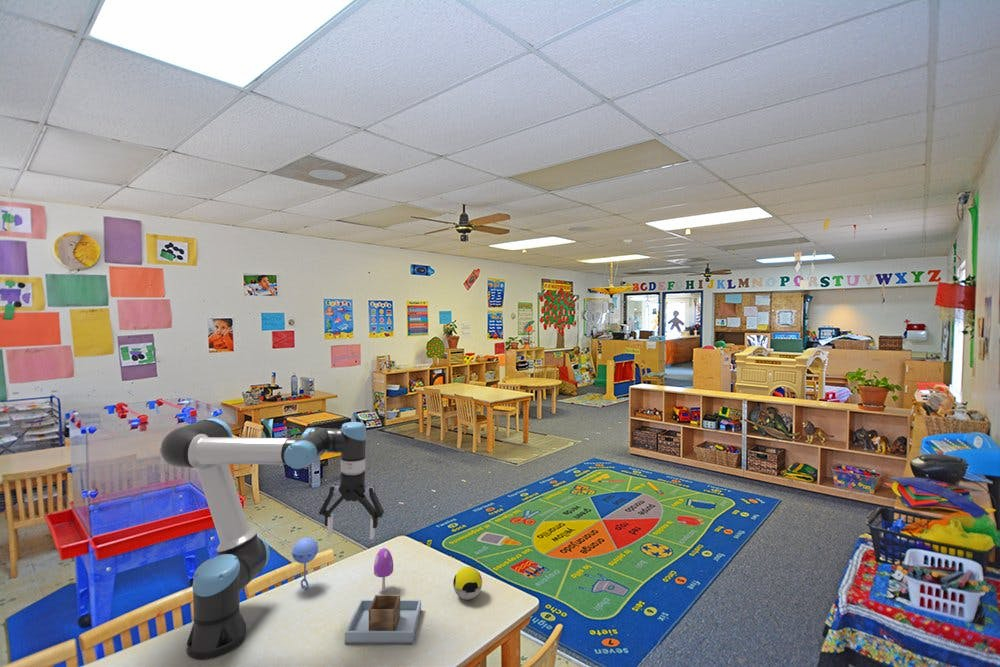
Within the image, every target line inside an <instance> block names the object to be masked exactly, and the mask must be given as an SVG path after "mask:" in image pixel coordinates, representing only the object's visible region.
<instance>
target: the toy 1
mask: <svg viewBox="0 0 1000 667" xmlns="http://www.w3.org/2000/svg"><path fill="white" fill-rule="evenodd" d="M393 559H394V558H393V556H392V553H391V552H390V549H388V548H386V547H382V548H381V549H380V550H379V551H378V552H377V554H376V556H375V559H374V563H373V573H374V576H375V577H377V578H382V584H381V585H382V586H381V591H382V592H385V591H386V577H390V576H391V575H393V572H394V560H393Z"/></svg>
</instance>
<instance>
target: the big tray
mask: <svg viewBox="0 0 1000 667" xmlns="http://www.w3.org/2000/svg"><path fill="white" fill-rule="evenodd" d="M372 602H373V599H359V601H358V604H357V606H356V608H355V610H354V611H353V614H352V616H351V619H350V621H349V622H348V625H347V627H346V629H345V631H344V645H413V644H414V640H415V636H416V632H417V627H418V625H419V620H420V616H421V611H422V599H400V619H399V622H398V625H397V628H396V631H369V609H370V606H371V604H372Z"/></svg>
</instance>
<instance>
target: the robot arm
mask: <svg viewBox="0 0 1000 667" xmlns="http://www.w3.org/2000/svg"><path fill="white" fill-rule="evenodd" d="M232 431H233V430H232V429H231V427H230V426H229V425H228V424H227V423H226V422H225V421H223V420H221V419H219V418H207V419H201V420H198V421H195V422H193V423H189V424H187V425H184V426H181V427H178V428H175V429H173V430H171V431H170V432H169V433H168V434H166V435H165V437H164V438H163V439H162V441H161V444H160V455H161V458H162V459H163V461H165V463H167V464H169V465H170V466H172V467H176V468H189V469H190V470H193V471H195V472H196V473H197V475H198V478H199V481H200V484H201V488H202V491H203V494H204V497H205V499H206V503H207V506H208V509H209V511H210V514H211V518H212V522H213V523H214V527H215V531H216V533H217V537H218V540H219V544H218V546H217V548H216V552H217V555H216V556H214V557H213V558H208V559H206V560H205V561H203V562H202V563H201V564H200V565H199V566H198V567H197V568H196V570H195V571H194V573H193V580H192V596H193V597H192V598H193V599H192V600H193V601H192V602H193V603H192V604H193V623H192V626H191V630H190V632H189V635H188V638H187V640H186V654H187V656H188V657H189V658H191V659H194V660H197V661H199V660H201V661H203V660H212V659H215V658H219V657H222V656H224V655H226V654H228V653H230V652H232V651H233V650H234V649H236V648H238V647H239V646H240V645H241V644H242V643H243V642H244V640H245V639H246V636H247V623H246V622H245V620H244V619H245V618H244V617H243V614H242V612H241V609H240V608H241V607H240V603H241V602H240V600H241V599H240V598H241V597H240V593H241V592H242V591H243V589H245V587H246V586H247V585H249V583H251V582H252V580H254V579H255V578H256V577H257V576H258V575H259V574H261V572H262V571H263V569H264V568H265V567H266V566H267V564H268V562H269V559H270V556H271V555H270V554H271V552H270V546H269V543H268V542H267V540H266V539H265V538H262V536H259V535H258V533H257V531H255V530H254V529H253V530H252V529H250V526H249V524H248V520H247V517H246V515H245V510H244V509H243V505H242V502H241V500H240V496H239V493H238V490H237V486H236V484H235V481H234V480H235V479H234V477H233V475H232V472H231V469H230V465H287V466H288V467H290V468H292V469H295V470H300V469H303V468H305V467H308V466H310V465H311V464H313V462H315V461H316V460H317V459H319V458H320V457H321V456H323V455H324V454H325V453H328V454H330V453H331V454H338V453H339V454H340V478H339V480H340V481H339V482H340V483H339V485H337V484H335V483H334V484H332V485H331V486H330V487H329V491H328V492H329V493H328V495H327V497H326V498H325V500H324V502H323V504H322V506H321V508H320V510H319V511H318V514H319V515H320V516H323V517H324V526H325V527H327V531H326V532H327V533H326V538H327V539H328V538H329V539H330V538H331V537H332V535H333V532H334V514H333V513H332V512H333V511H334V510H335V509H337V507H338V506H339V505H340V504H341V503H342V502H343V501H344V500H345V502H350V501H351V502H357V501H358V502H359V503H360V504H361V505H362V506H363V508H365V511H366V512H368V514H369V515H370V516H371V518H370V523H369V525H370V526H369V540H373V539H374V537H375V533H376V532H375V531H376V530H375V529H377V528H378V526H379V518H382V517H383V515H384V513H385V511H384V509H383V507H382V504H381V502H380V499H379V498H378V495H377V494H376V488H375V485H371V486H368V487H367V486H366V485H365V484H366V483H365V482H366V472H365V470H366V452H367V451H366V450H367V427H366V424H365V423H363V422H359V421H353V422H351V421H349V422H344V423H343V424H342V425H341V428H329V427H307V428H306V429H305V430H304V432H303V433H302V434H301V437H300V438H299V437H297V438H296V437H295V438H292V437H291V438H289V437H233V432H232ZM337 492H339V493H340V495H341V496H340V497H339V498H338V499H337V500H336V501H335V502H334V503H333V504H332V505H331V507H330V508H329V509H328V510H327V508H328V507H329V505H330V503H331V501H332V500H333V497H334V495H335V494H336V493H337ZM364 493H367V494H368V496H369V498H370V501H371V502H370V501H369V499H368V498H367V496H366V495H365V494H364Z"/></svg>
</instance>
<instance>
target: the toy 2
mask: <svg viewBox="0 0 1000 667" xmlns="http://www.w3.org/2000/svg"><path fill="white" fill-rule="evenodd" d="M452 582H453V584H452V585H453V586H452V587H453V590H454V593H455V595H457V596H458V597H459V598H460V599H462V600H466V601H468V600H473V599H474V598H476V597H477V596H478V595H480V594H479V593H480V592H481V590H482V588H483V579H482V575H481V574H480V572H479V571H478V570H477V569H476V568H475V567H472V566H465V567H462V568H460V569H459V570H458V571H457V572H456V573H455V575H454V577H453V581H452Z"/></svg>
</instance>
